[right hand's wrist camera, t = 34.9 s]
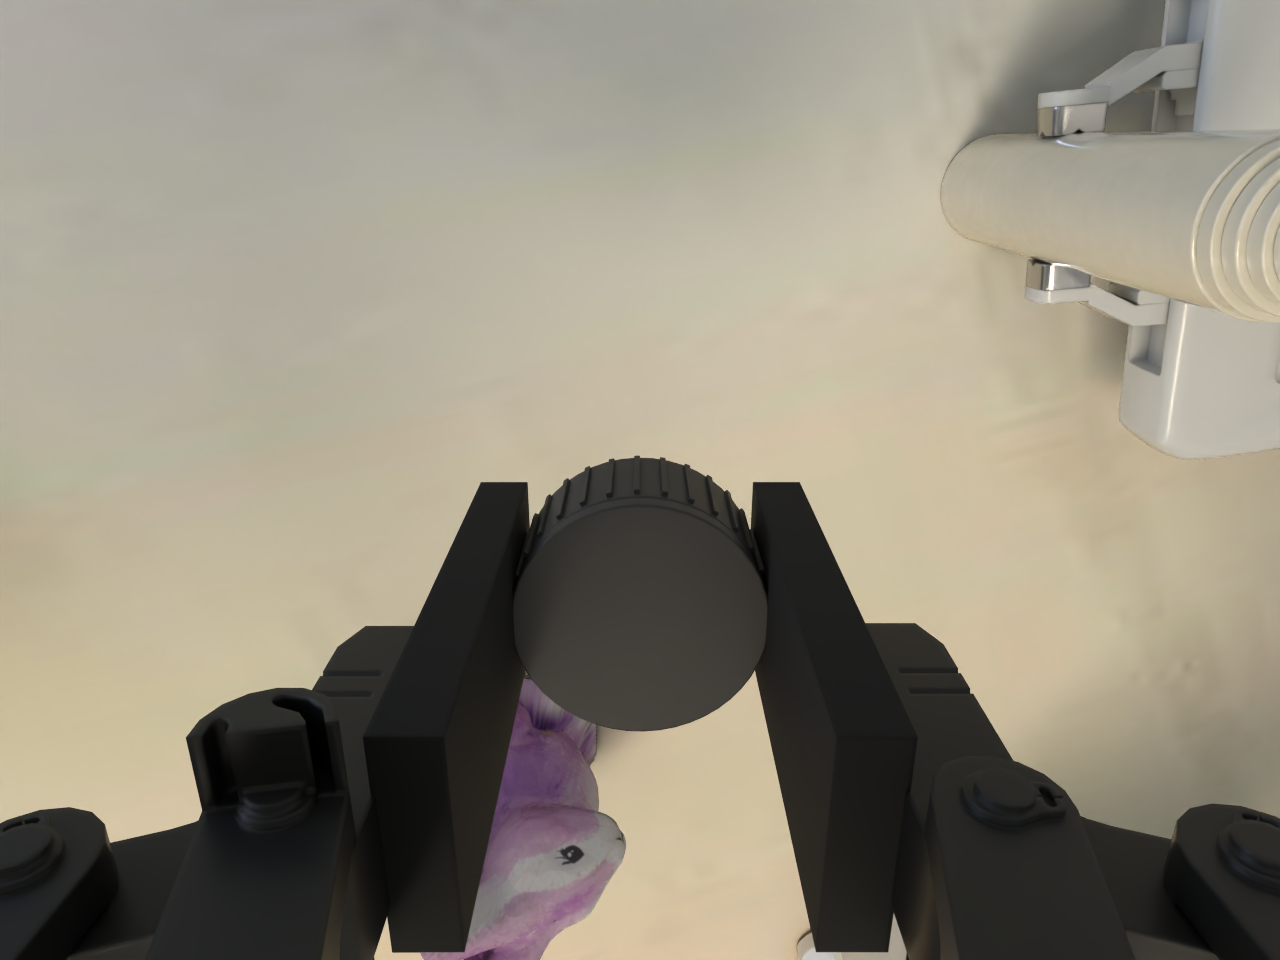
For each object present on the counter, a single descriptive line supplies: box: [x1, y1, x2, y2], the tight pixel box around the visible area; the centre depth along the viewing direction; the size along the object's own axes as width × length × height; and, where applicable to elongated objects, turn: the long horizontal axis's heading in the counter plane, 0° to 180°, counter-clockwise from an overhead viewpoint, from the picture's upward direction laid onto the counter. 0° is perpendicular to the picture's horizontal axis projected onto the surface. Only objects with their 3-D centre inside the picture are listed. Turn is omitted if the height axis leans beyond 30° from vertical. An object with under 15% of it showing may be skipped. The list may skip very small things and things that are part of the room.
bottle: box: [941, 129, 1280, 323], centre depth 27 cm, size 4×4×24 cm
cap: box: [513, 456, 768, 731], centre depth 14 cm, size 4×4×2 cm
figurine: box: [421, 678, 626, 960], centre depth 41 cm, size 9×10×15 cm
